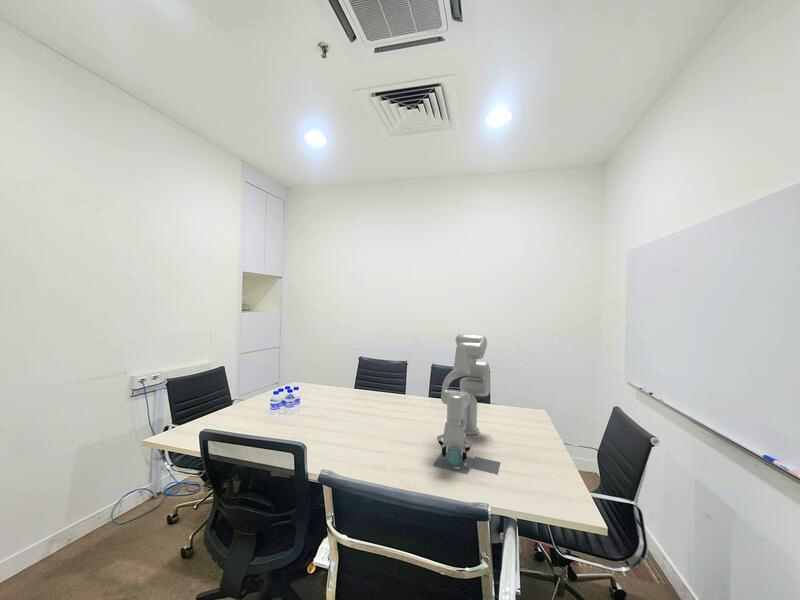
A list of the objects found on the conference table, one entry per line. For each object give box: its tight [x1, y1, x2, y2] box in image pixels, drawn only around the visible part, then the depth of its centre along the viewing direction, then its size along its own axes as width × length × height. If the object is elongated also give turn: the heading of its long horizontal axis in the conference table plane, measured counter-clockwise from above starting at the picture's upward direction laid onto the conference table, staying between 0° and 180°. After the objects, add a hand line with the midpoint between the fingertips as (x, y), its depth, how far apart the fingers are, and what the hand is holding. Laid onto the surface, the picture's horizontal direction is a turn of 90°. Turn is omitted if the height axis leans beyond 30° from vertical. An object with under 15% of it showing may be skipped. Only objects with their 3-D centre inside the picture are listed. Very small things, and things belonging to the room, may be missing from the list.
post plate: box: [432, 451, 475, 475], centre depth 147 cm, size 16×16×5 cm
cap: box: [446, 446, 462, 465], centre depth 147 cm, size 6×6×6 cm
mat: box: [470, 456, 501, 476], centre depth 144 cm, size 12×12×1 cm
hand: (454, 457), depth 147 cm, fingers open, 9 cm apart
